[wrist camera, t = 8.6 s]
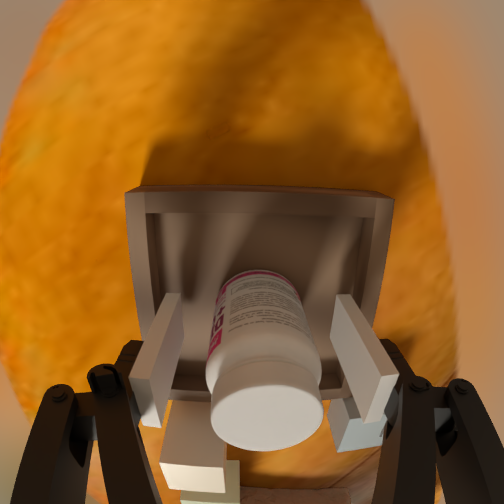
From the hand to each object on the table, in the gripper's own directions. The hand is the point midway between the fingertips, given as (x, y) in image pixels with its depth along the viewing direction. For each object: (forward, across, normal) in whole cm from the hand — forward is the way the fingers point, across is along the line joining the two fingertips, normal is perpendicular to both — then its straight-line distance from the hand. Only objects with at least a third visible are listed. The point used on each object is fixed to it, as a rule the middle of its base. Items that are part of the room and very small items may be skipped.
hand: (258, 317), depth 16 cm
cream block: (+2, +4, +11) cm, 12 cm away
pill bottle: (+2, 0, 0) cm, 2 cm away
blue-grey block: (+2, -8, +9) cm, 12 cm away
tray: (+2, 0, 0) cm, 2 cm away
